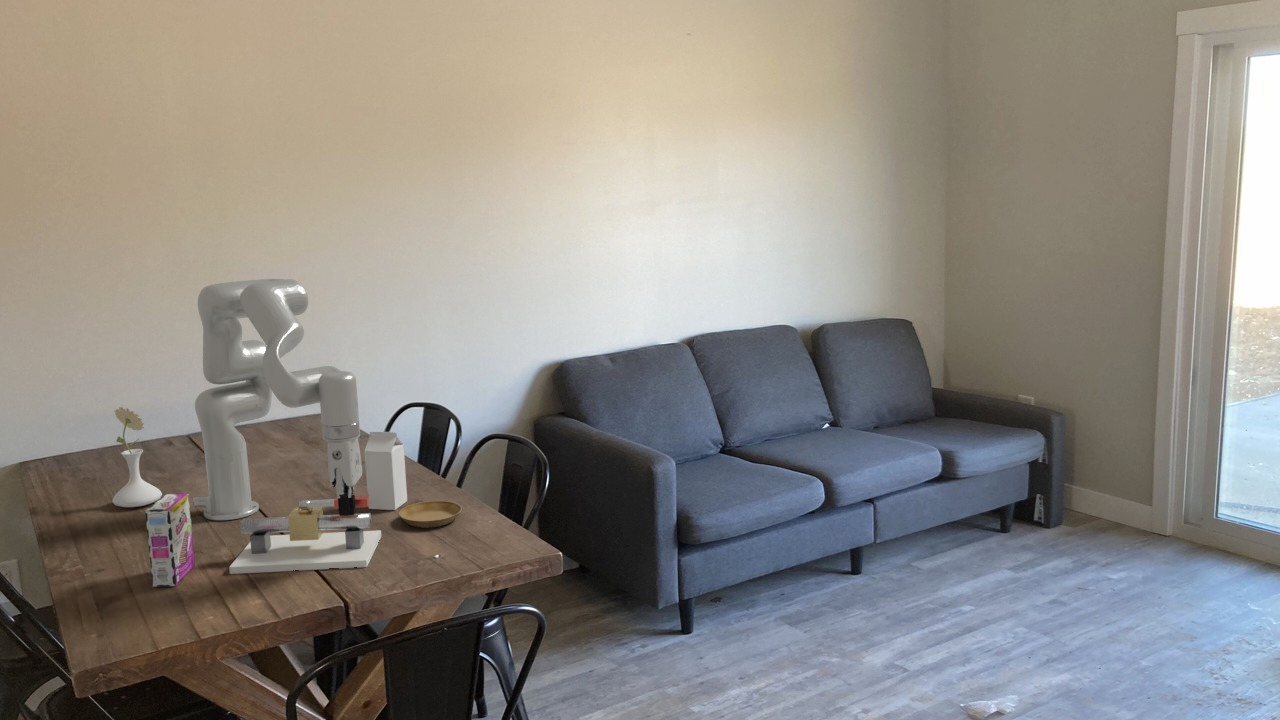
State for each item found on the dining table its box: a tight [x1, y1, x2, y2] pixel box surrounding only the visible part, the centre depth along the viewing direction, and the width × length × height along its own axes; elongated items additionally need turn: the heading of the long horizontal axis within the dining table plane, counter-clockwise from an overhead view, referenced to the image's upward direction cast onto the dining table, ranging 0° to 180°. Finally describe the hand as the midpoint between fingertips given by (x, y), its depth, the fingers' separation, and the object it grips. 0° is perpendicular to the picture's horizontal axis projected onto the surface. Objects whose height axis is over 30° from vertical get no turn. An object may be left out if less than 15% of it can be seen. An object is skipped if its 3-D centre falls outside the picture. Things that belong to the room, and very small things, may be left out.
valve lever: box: [298, 494, 370, 510], centre depth 214 cm, size 3×15×2 cm, turn 95°
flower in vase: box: [112, 406, 163, 508], centre depth 251 cm, size 13×11×25 cm
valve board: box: [228, 529, 382, 575], centre depth 216 cm, size 28×18×2 cm, turn 95°
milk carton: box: [364, 430, 408, 511], centre depth 246 cm, size 7×7×19 cm
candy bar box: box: [144, 493, 196, 588], centre depth 204 cm, size 11×5×16 cm, turn 5°
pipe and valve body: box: [239, 506, 372, 554], centre depth 215 cm, size 27×6×9 cm, turn 95°
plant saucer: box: [398, 500, 463, 529], centre depth 236 cm, size 15×15×3 cm
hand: (347, 514), depth 211 cm, fingers closed
